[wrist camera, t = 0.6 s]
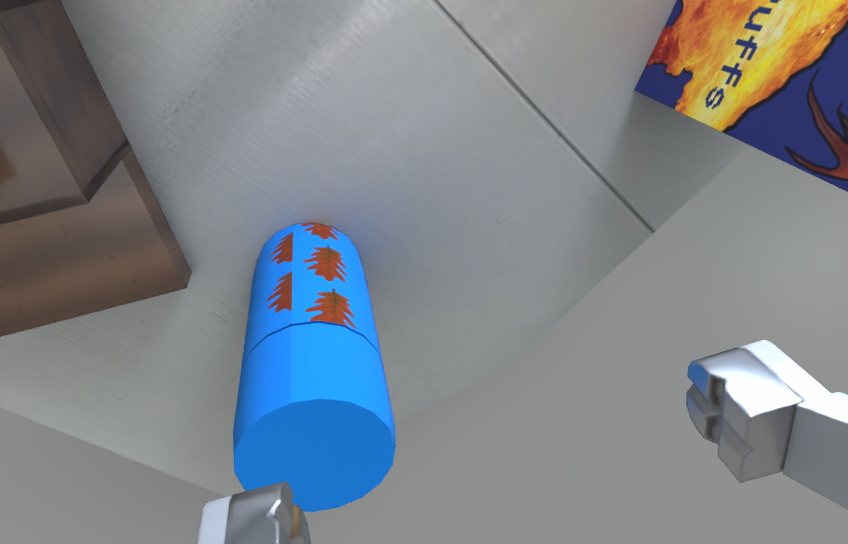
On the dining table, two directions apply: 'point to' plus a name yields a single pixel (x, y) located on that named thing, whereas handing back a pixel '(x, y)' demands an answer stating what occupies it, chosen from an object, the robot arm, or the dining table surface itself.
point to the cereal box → (761, 76)
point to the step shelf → (69, 184)
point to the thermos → (312, 374)
